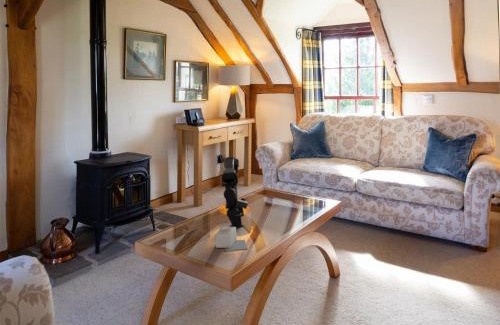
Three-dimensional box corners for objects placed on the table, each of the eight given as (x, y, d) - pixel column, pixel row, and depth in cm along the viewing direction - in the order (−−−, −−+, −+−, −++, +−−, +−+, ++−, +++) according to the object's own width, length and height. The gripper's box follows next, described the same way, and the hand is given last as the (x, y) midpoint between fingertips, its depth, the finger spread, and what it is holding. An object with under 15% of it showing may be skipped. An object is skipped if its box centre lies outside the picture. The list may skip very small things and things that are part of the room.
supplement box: (236, 226, 210) (228, 234, 198) (237, 240, 211) (229, 248, 199) (222, 226, 212) (214, 233, 200) (223, 239, 213) (215, 248, 201)
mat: (223, 242, 210) (223, 241, 210) (244, 240, 211) (244, 239, 211) (224, 251, 196) (224, 250, 196) (247, 249, 197) (247, 248, 197)
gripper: (247, 198, 200) (250, 228, 202) (244, 190, 219) (246, 218, 221) (225, 200, 199) (227, 230, 202) (224, 192, 218) (226, 220, 220)
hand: (233, 224), depth 211 cm, fingers closed
